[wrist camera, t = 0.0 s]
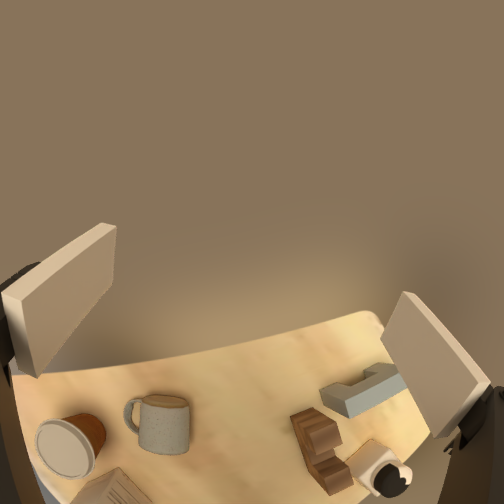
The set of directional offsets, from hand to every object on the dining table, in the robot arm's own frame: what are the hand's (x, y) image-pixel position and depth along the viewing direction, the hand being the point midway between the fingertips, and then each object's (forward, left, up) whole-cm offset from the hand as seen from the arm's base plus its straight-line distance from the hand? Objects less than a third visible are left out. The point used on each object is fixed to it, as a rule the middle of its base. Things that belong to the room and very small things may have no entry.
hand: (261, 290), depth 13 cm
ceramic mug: (-12, +14, -36) cm, 41 cm away
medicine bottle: (-34, -16, -36) cm, 52 cm away
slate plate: (-17, -18, -36) cm, 44 cm away
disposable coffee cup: (-12, +27, -36) cm, 47 cm away
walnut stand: (-24, -8, -36) cm, 44 cm away
